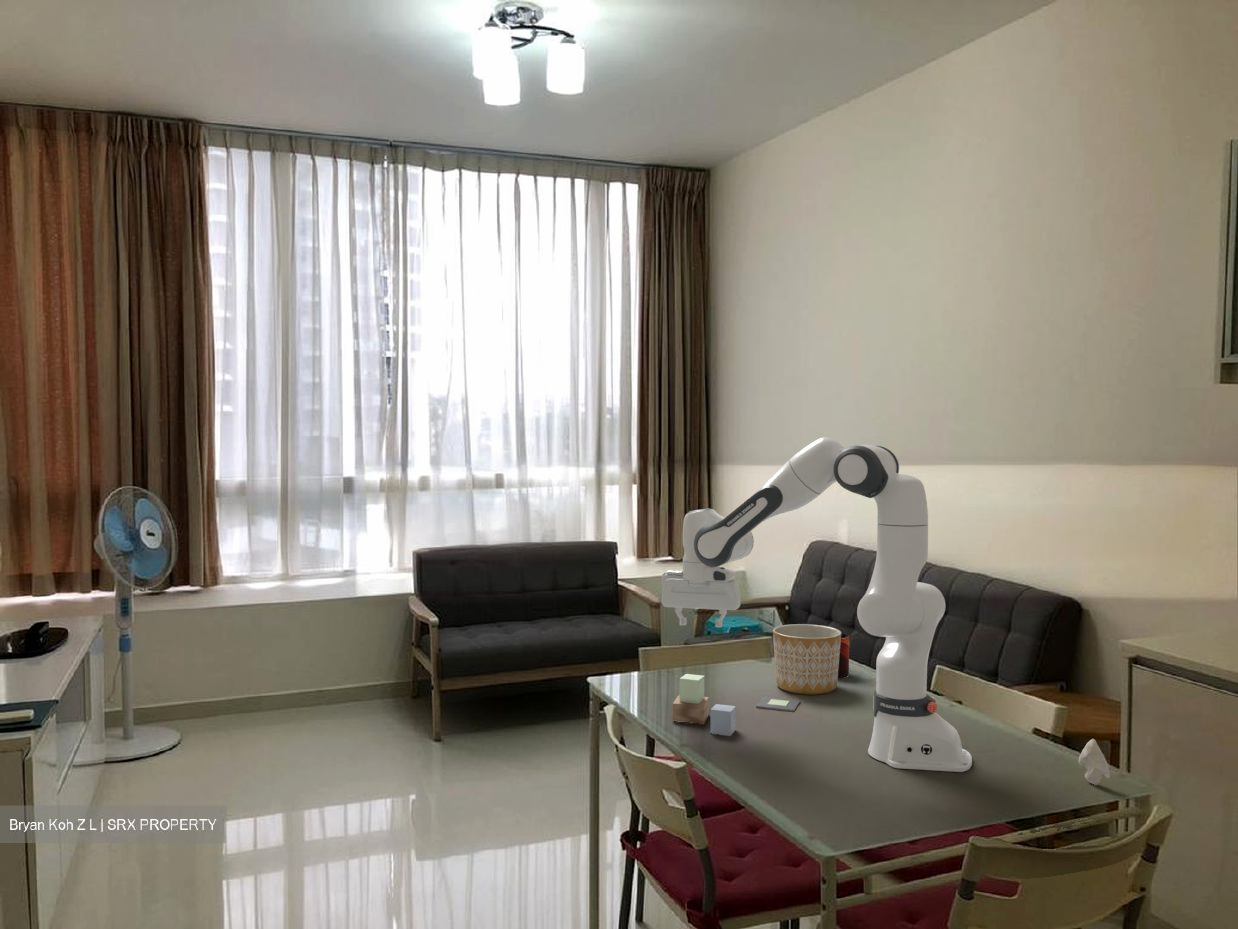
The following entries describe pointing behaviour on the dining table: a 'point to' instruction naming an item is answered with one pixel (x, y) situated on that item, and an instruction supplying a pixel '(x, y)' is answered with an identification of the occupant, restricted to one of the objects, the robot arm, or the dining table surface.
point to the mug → (844, 657)
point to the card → (778, 703)
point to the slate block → (723, 720)
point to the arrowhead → (1094, 762)
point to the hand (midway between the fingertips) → (700, 626)
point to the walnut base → (691, 711)
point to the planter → (806, 658)
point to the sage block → (692, 688)
